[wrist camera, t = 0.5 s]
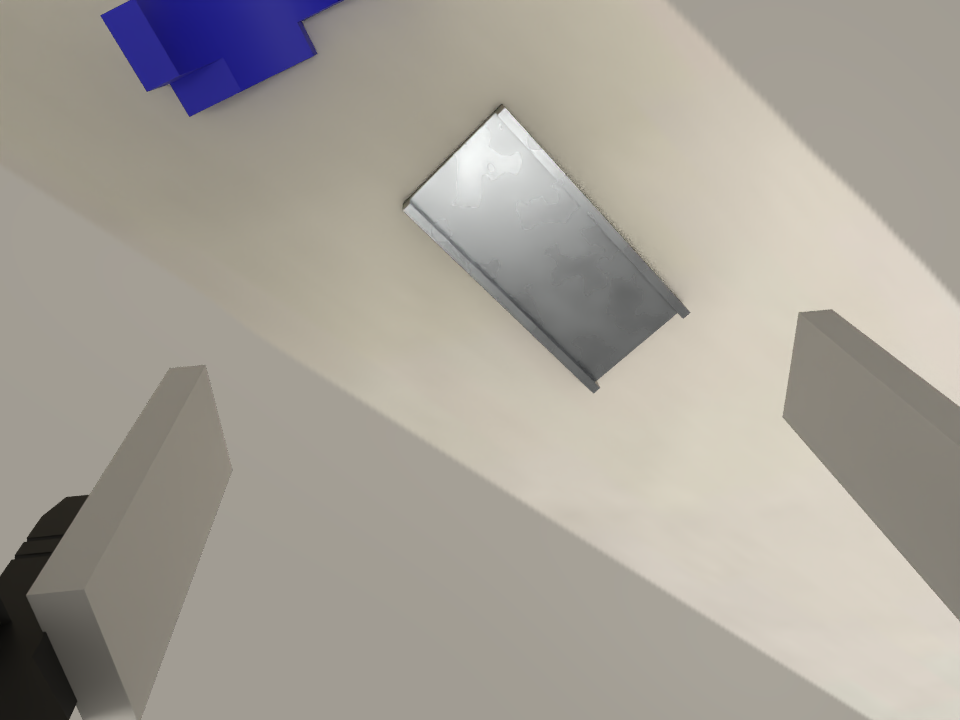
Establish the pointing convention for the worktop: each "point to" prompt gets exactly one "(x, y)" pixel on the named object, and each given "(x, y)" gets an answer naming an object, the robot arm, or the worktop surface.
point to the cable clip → (212, 43)
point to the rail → (542, 249)
